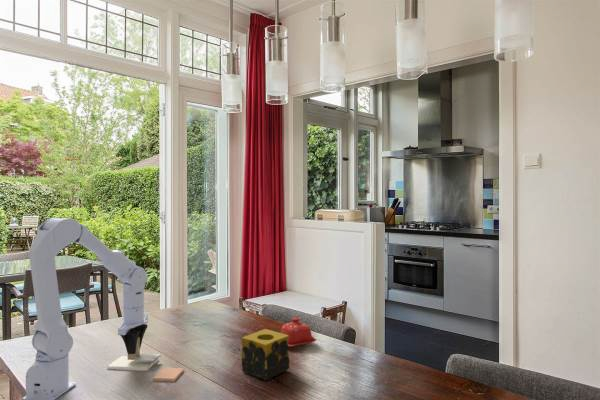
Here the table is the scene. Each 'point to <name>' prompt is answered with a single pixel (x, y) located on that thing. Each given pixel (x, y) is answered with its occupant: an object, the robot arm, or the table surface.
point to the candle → (265, 354)
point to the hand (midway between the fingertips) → (133, 351)
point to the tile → (168, 374)
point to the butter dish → (297, 333)
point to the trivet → (130, 364)
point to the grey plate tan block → (142, 355)
